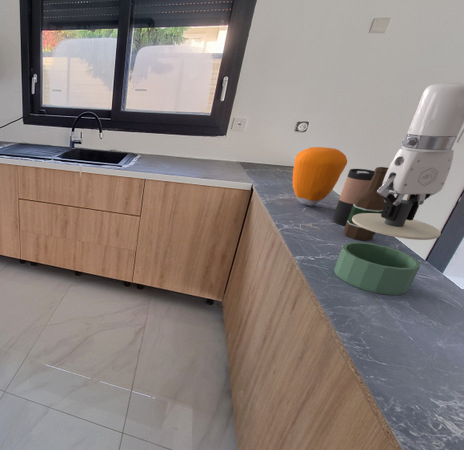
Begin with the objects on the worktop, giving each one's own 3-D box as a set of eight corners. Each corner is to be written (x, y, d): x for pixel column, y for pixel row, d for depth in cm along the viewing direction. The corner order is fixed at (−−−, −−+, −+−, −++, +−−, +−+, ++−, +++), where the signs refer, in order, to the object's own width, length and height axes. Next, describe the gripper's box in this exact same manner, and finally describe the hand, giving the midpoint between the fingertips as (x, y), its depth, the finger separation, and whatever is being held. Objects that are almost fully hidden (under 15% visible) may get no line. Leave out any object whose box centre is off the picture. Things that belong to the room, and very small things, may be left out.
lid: (393, 216, 85) (403, 190, 82) (459, 241, 70) (475, 211, 68) (335, 217, 85) (344, 192, 82) (390, 243, 71) (402, 214, 68)
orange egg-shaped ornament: (278, 197, 147) (293, 143, 137) (321, 200, 142) (339, 144, 132) (290, 209, 132) (307, 150, 122) (338, 213, 127) (360, 151, 117)
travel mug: (355, 220, 119) (374, 169, 111) (360, 228, 113) (381, 174, 105) (330, 217, 123) (347, 167, 115) (333, 224, 117) (351, 172, 109)
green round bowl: (371, 264, 90) (381, 241, 87) (424, 294, 77) (438, 268, 74) (321, 265, 91) (329, 242, 88) (365, 295, 77) (376, 269, 74)
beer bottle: (345, 229, 112) (370, 164, 103) (374, 236, 107) (403, 167, 97) (339, 235, 108) (364, 167, 98) (369, 243, 102) (398, 172, 93)
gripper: (407, 147, 66) (376, 225, 73) (486, 144, 66) (447, 223, 73) (375, 141, 73) (349, 214, 80) (446, 139, 73) (414, 212, 80)
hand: (396, 218), depth 77 cm, fingers closed on lid, 3 cm apart
